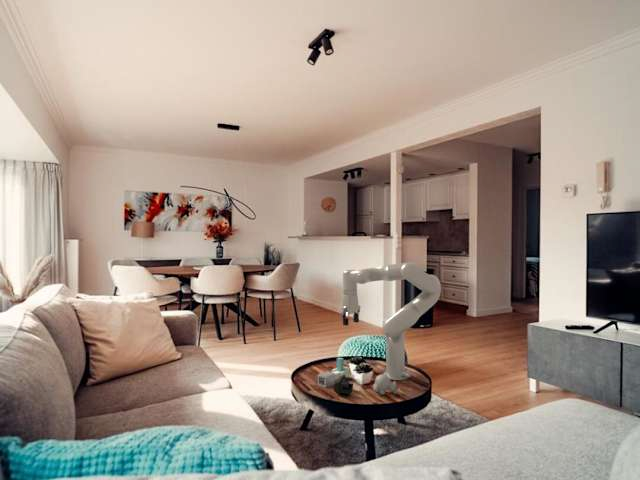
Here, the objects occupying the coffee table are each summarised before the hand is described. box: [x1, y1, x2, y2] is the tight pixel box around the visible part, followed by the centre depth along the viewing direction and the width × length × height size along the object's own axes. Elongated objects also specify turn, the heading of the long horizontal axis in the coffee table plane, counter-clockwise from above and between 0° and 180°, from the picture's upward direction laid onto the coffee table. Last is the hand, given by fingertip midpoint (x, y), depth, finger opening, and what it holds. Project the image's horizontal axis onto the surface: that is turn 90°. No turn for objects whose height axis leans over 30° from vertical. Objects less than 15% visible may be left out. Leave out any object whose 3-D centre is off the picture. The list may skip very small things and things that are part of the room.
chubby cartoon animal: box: [372, 373, 401, 396], centre depth 181 cm, size 7×12×8 cm, turn 83°
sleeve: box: [317, 370, 336, 389], centre depth 193 cm, size 5×7×5 cm
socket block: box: [331, 366, 351, 381], centre depth 201 cm, size 7×6×6 cm
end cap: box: [332, 375, 354, 398], centre depth 183 cm, size 10×7×7 cm
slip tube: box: [331, 357, 344, 381], centre depth 198 cm, size 3×12×9 cm, turn 137°
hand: (351, 323), depth 213 cm, fingers open, 9 cm apart
